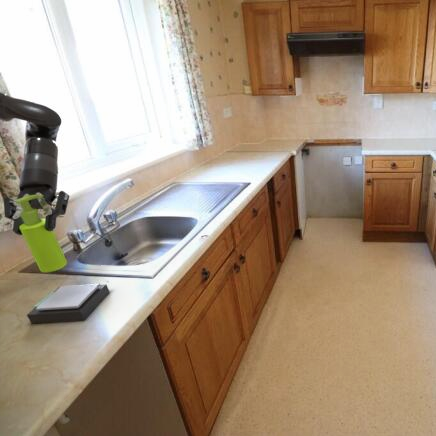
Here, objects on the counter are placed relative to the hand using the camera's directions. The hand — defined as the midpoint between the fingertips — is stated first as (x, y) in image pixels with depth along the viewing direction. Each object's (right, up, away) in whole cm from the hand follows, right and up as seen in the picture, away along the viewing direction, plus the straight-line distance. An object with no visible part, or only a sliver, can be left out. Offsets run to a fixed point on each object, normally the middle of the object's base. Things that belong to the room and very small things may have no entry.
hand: (34, 232), depth 82 cm
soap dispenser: (0, -10, +6) cm, 12 cm away
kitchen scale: (+2, -22, +10) cm, 24 cm away
